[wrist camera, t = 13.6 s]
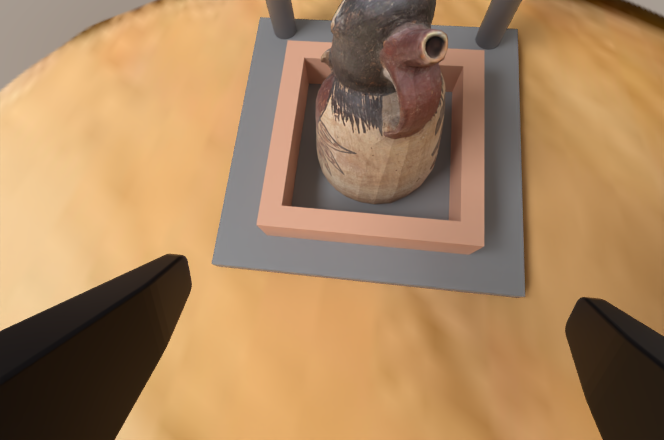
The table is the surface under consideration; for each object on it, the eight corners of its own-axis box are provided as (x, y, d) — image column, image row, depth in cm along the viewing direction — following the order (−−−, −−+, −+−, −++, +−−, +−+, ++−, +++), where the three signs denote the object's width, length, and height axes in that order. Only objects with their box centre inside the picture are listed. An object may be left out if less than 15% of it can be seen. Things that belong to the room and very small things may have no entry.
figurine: (407, 90, 24) (458, -124, 12) (450, 185, 22) (560, 37, 10) (304, 124, 24) (258, -63, 12) (339, 223, 22) (325, 114, 10)
